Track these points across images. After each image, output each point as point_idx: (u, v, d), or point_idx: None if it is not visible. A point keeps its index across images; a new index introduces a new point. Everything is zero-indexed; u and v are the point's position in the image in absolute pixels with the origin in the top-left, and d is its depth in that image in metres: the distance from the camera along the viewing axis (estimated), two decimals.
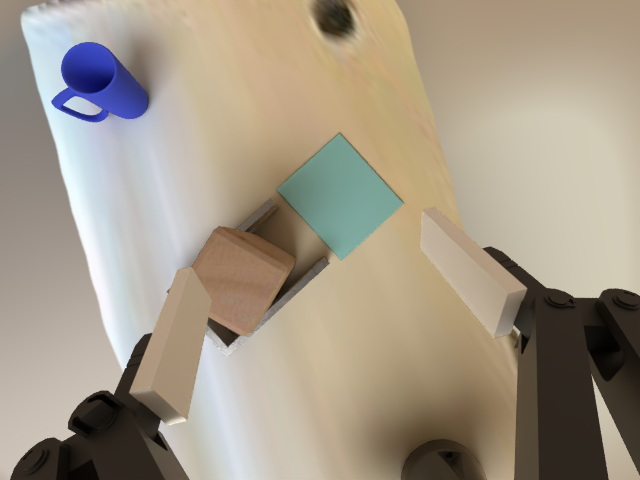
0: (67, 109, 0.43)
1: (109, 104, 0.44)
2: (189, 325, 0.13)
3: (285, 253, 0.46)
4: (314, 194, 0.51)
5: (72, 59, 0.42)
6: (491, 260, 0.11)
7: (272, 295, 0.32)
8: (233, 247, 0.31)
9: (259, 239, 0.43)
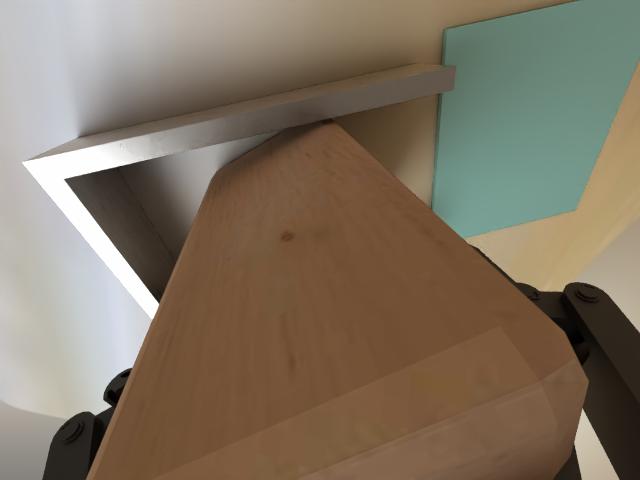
0: None
1: None
2: None
3: None
4: (498, 103, 0.21)
5: None
6: None
7: None
8: (530, 471, 0.05)
9: None
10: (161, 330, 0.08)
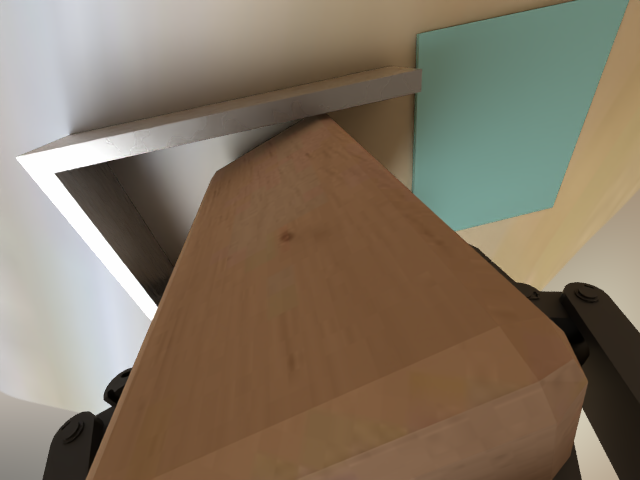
0: None
1: None
2: None
3: None
4: (471, 104, 0.22)
5: None
6: None
7: None
8: (530, 471, 0.05)
9: None
10: (161, 330, 0.08)
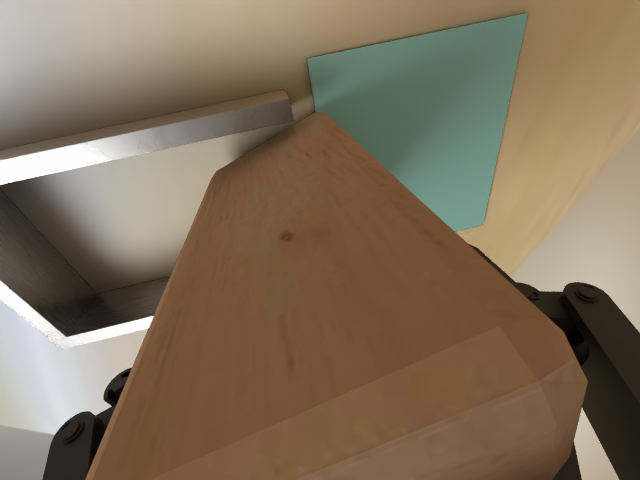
0: None
1: None
2: None
3: None
4: (377, 126, 0.22)
5: None
6: None
7: None
8: (529, 471, 0.05)
9: None
10: (161, 330, 0.08)
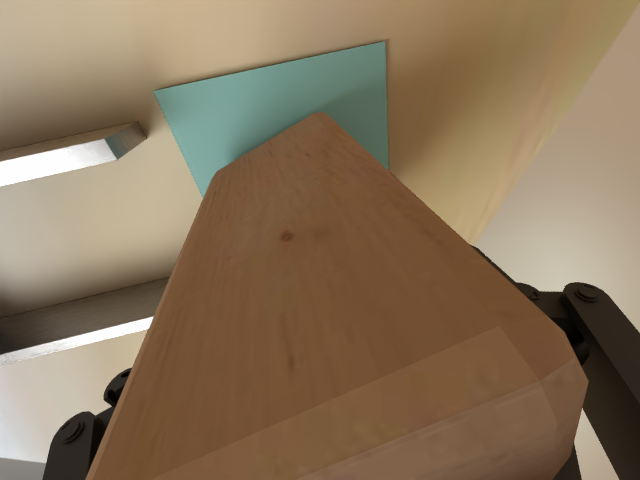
0: None
1: None
2: None
3: None
4: None
5: None
6: None
7: None
8: (530, 471, 0.05)
9: None
10: (161, 330, 0.08)
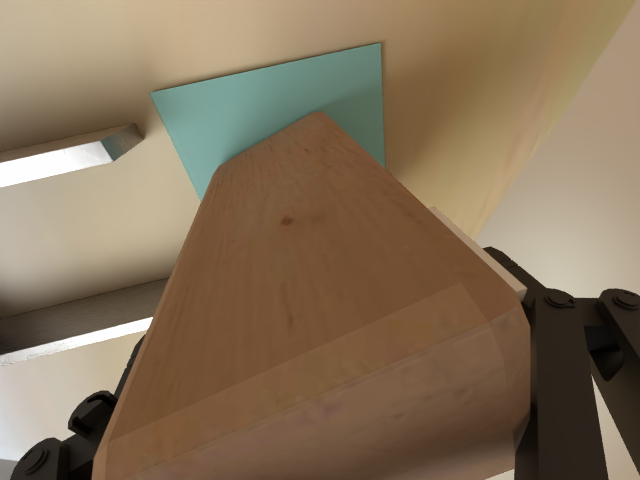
0: None
1: None
2: None
3: None
4: None
5: None
6: (491, 260, 0.11)
7: None
8: (490, 413, 0.06)
9: None
10: (171, 303, 0.09)
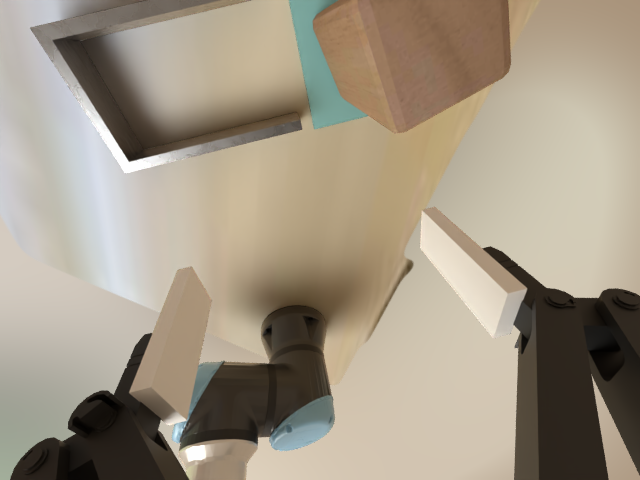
0: None
1: None
2: (189, 325, 0.13)
3: None
4: None
5: None
6: (491, 260, 0.11)
7: (461, 100, 0.22)
8: None
9: None
10: None
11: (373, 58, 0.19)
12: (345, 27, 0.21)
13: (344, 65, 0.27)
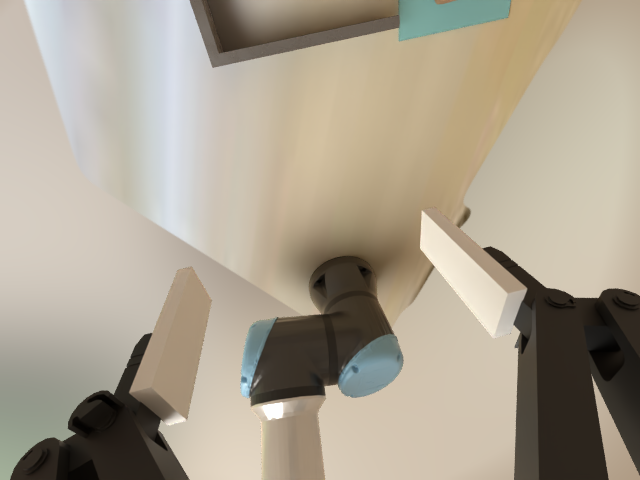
0: None
1: None
2: (189, 325, 0.13)
3: None
4: None
5: None
6: (491, 260, 0.11)
7: None
8: None
9: None
10: None
11: None
12: None
13: None
